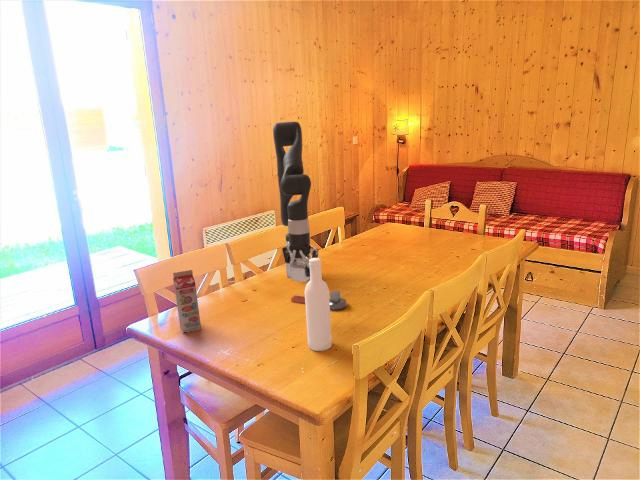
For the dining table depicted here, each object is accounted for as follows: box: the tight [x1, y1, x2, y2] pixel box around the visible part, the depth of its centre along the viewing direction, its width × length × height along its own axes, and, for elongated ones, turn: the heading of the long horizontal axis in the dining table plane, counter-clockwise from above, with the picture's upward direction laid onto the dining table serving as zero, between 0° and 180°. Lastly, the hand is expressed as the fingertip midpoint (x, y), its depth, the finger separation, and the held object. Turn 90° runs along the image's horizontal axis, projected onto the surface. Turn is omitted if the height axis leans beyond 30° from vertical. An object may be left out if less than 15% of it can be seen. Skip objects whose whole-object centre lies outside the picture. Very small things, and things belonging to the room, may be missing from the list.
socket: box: [291, 260, 310, 283], centre depth 178 cm, size 6×6×6 cm
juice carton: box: [172, 269, 202, 334], centre depth 177 cm, size 7×7×22 cm
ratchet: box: [290, 290, 348, 312], centre depth 194 cm, size 23×8×6 cm, turn 64°
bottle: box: [304, 257, 333, 352], centre depth 157 cm, size 8×8×30 cm
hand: (301, 275), depth 179 cm, fingers closed on socket, 5 cm apart
